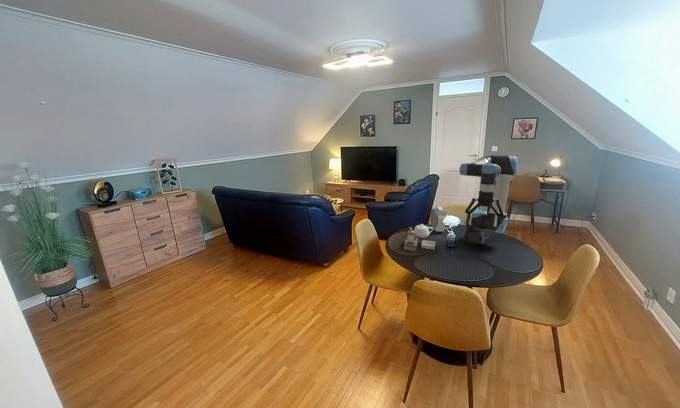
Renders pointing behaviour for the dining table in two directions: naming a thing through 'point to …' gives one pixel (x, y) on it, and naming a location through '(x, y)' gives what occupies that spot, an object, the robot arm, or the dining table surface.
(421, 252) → the dining table surface
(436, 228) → the grey piece
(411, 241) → the pin
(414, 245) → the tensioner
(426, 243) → the tray
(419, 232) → the teapot
